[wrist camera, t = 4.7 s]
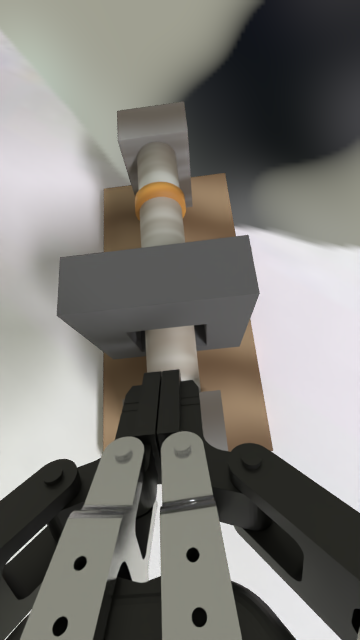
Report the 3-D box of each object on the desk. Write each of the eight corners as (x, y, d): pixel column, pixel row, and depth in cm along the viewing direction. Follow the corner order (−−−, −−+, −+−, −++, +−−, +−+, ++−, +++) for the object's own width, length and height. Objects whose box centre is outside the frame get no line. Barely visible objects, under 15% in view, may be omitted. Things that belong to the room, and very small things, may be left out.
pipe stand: (269, 449, 23) (306, 460, 14) (108, 463, 23) (51, 481, 15) (224, 182, 31) (230, 89, 23) (107, 197, 32) (71, 112, 23)
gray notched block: (239, 346, 22) (259, 293, 13) (113, 359, 22) (56, 315, 14) (233, 307, 23) (248, 234, 14) (113, 320, 23) (60, 257, 15)
